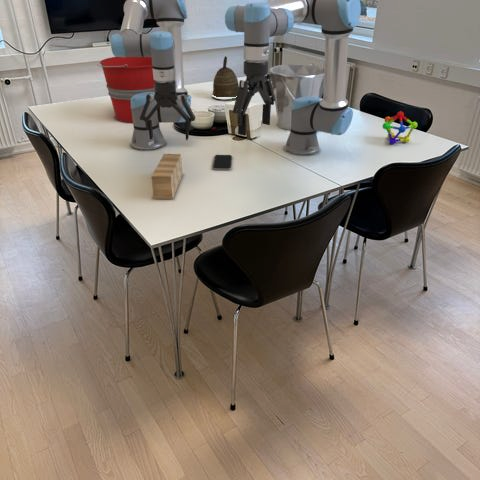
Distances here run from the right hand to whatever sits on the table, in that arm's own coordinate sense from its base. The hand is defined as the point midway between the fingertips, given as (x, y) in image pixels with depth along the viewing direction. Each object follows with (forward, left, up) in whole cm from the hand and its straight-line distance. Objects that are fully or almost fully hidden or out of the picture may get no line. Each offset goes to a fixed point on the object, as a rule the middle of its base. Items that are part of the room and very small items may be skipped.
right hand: (254, 129), depth 145 cm
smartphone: (-24, -28, -26) cm, 45 cm away
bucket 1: (-57, -105, -26) cm, 123 cm away
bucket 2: (-88, -24, -26) cm, 95 cm away
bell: (-117, -85, -26) cm, 147 cm away
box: (+6, -33, -26) cm, 43 cm away
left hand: (-1, -37, -10) cm, 38 cm away
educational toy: (-88, +29, -26) cm, 96 cm away
